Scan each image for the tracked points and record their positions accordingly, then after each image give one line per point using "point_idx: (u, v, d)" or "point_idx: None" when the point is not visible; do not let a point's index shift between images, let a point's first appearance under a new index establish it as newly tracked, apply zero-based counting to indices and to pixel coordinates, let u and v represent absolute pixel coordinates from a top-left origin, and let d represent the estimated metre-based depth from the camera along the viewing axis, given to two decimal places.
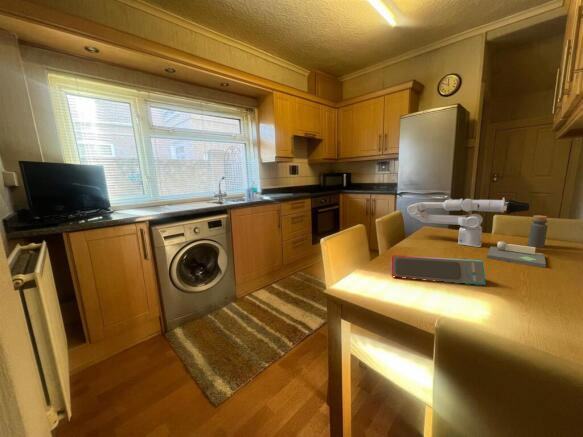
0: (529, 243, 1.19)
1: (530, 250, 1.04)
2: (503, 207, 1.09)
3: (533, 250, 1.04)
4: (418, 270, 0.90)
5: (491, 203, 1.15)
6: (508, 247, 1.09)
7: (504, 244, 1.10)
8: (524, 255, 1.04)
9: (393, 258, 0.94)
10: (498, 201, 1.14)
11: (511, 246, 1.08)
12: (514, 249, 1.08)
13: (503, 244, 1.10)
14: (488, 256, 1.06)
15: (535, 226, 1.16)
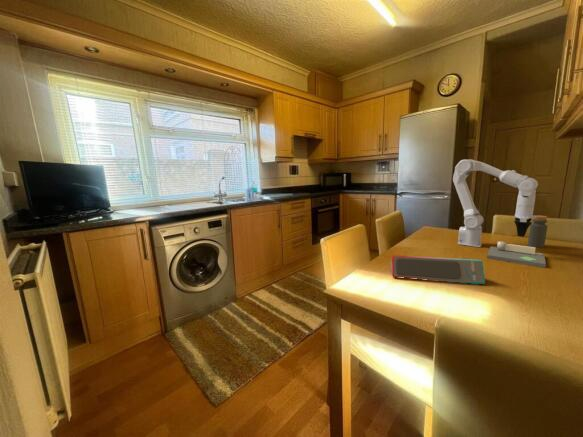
0: (529, 243, 1.19)
1: (530, 250, 1.04)
2: (524, 219, 1.03)
3: (533, 250, 1.04)
4: (418, 270, 0.90)
5: (529, 207, 1.05)
6: (508, 247, 1.09)
7: (504, 244, 1.10)
8: (524, 255, 1.04)
9: (393, 258, 0.94)
10: (531, 213, 1.06)
11: (511, 246, 1.08)
12: (514, 249, 1.08)
13: (503, 244, 1.10)
14: (488, 256, 1.06)
15: (535, 226, 1.16)
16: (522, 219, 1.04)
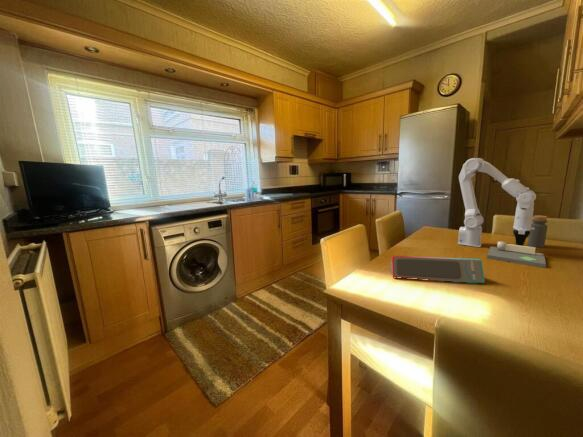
0: (529, 243, 1.19)
1: (530, 250, 1.04)
2: (522, 232, 1.04)
3: (533, 250, 1.04)
4: (419, 270, 0.90)
5: (527, 219, 1.06)
6: (508, 247, 1.09)
7: (504, 244, 1.10)
8: (524, 255, 1.04)
9: (394, 259, 0.93)
10: (529, 225, 1.07)
11: (511, 246, 1.08)
12: (514, 249, 1.08)
13: (503, 244, 1.10)
14: (488, 256, 1.06)
15: (535, 226, 1.16)
16: (520, 231, 1.05)
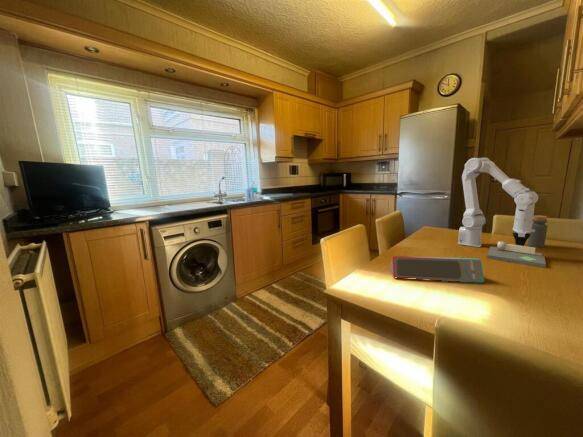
0: (529, 243, 1.19)
1: (530, 250, 1.04)
2: (522, 234, 1.01)
3: (533, 250, 1.04)
4: (419, 270, 0.89)
5: (527, 221, 1.03)
6: (508, 247, 1.09)
7: (504, 244, 1.10)
8: (524, 255, 1.04)
9: (394, 259, 0.93)
10: (530, 227, 1.03)
11: (511, 246, 1.08)
12: (514, 249, 1.08)
13: (503, 244, 1.10)
14: (488, 256, 1.06)
15: (535, 226, 1.16)
16: (520, 234, 1.01)
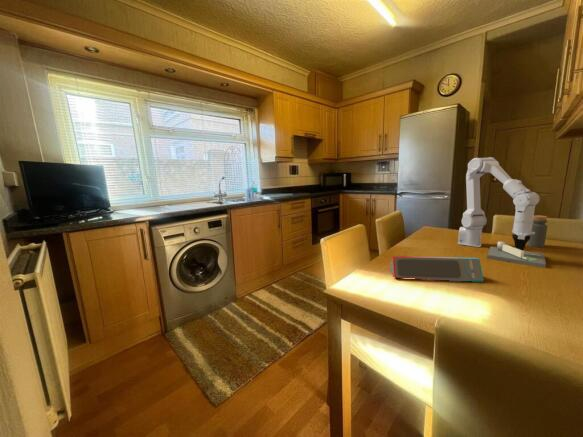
0: (529, 243, 1.19)
1: (518, 253, 1.02)
2: (522, 237, 0.98)
3: (519, 253, 1.01)
4: (420, 270, 0.89)
5: (527, 223, 1.00)
6: (504, 247, 1.09)
7: (501, 244, 1.10)
8: (524, 255, 1.04)
9: (394, 259, 0.93)
10: (530, 229, 1.00)
11: (506, 247, 1.08)
12: (507, 250, 1.07)
13: (499, 244, 1.10)
14: (488, 256, 1.06)
15: (535, 226, 1.16)
16: (520, 236, 0.98)
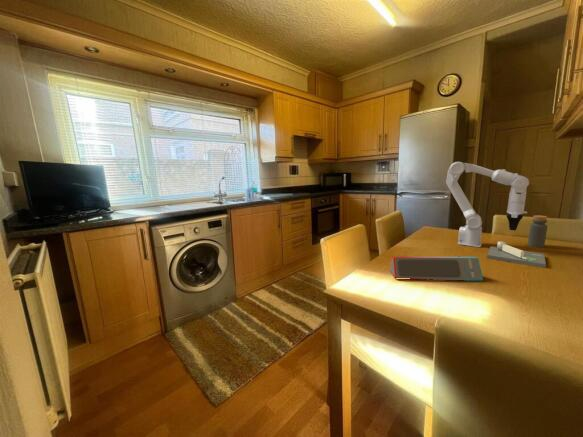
0: (529, 243, 1.19)
1: (517, 253, 1.02)
2: (515, 215, 1.08)
3: (519, 253, 1.01)
4: (420, 270, 0.89)
5: (520, 203, 1.10)
6: (504, 247, 1.09)
7: (501, 244, 1.10)
8: (524, 255, 1.04)
9: (395, 259, 0.92)
10: (522, 209, 1.10)
11: (506, 247, 1.08)
12: (507, 250, 1.07)
13: (499, 244, 1.11)
14: (488, 256, 1.06)
15: (535, 226, 1.16)
16: (513, 215, 1.09)
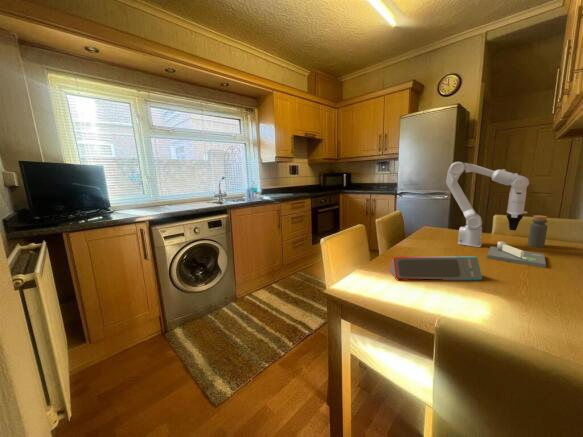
0: (529, 243, 1.19)
1: (517, 253, 1.02)
2: (515, 215, 1.08)
3: (519, 253, 1.01)
4: (421, 270, 0.89)
5: (520, 203, 1.10)
6: (504, 247, 1.09)
7: (501, 244, 1.10)
8: (524, 255, 1.04)
9: (395, 260, 0.92)
10: (522, 209, 1.10)
11: (506, 247, 1.08)
12: (507, 250, 1.07)
13: (499, 244, 1.11)
14: (488, 256, 1.06)
15: (535, 226, 1.16)
16: (513, 215, 1.09)
